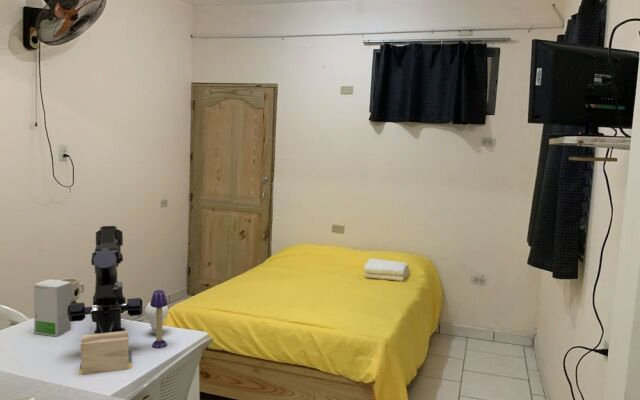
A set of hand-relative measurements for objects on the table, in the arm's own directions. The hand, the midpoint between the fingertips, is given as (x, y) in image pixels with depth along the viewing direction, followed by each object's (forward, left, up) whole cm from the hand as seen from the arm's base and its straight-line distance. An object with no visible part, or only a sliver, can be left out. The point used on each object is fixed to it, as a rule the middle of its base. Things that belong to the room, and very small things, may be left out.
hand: (106, 338), depth 134 cm
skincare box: (-6, -31, -7) cm, 33 cm away
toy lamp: (-15, +4, -7) cm, 17 cm away
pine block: (+2, +3, -6) cm, 7 cm away
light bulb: (-21, -3, -7) cm, 22 cm away
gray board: (0, 0, -7) cm, 7 cm away
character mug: (-15, -37, -7) cm, 41 cm away
